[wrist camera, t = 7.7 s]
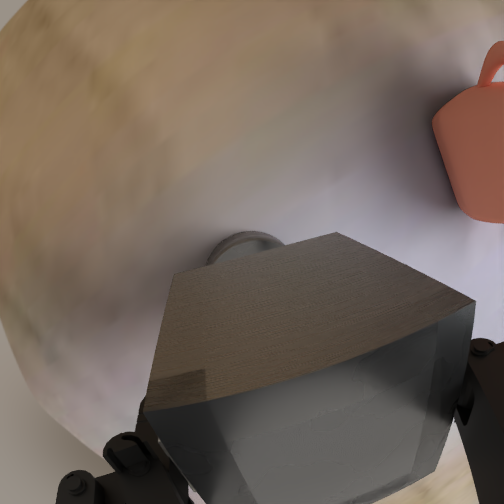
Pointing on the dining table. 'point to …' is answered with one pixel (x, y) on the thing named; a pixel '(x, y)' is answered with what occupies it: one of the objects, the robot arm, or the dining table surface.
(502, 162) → the teapot
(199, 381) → the grey square box
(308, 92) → the dining table surface
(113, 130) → the dining table surface
